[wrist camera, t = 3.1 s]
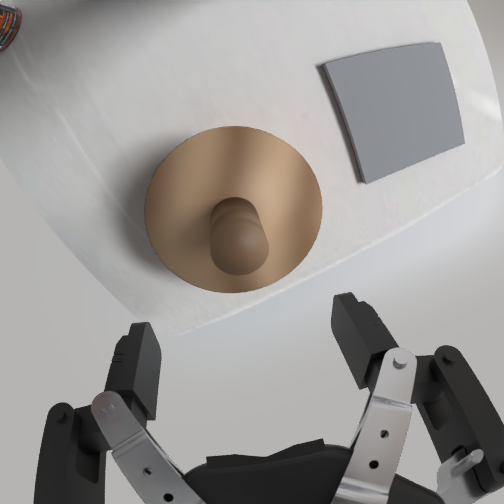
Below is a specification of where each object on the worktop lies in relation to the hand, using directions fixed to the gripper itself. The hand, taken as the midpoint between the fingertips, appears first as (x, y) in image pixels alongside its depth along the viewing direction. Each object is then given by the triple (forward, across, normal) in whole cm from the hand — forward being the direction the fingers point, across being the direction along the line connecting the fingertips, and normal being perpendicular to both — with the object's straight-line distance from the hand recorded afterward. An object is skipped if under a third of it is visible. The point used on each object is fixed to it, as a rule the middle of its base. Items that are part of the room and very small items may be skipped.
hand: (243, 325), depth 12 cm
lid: (+13, -1, 0) cm, 13 cm away
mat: (+17, -20, -9) cm, 28 cm away
